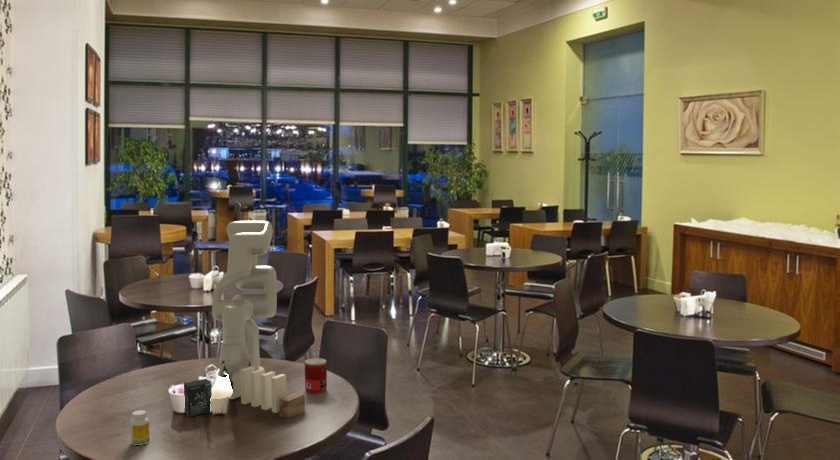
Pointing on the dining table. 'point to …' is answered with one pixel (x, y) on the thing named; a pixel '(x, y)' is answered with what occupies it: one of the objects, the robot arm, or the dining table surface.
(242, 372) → the domino
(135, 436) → the supplement bottle
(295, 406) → the end block
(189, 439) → the dining table surface
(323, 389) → the canned food
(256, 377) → the domino
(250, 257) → the robot arm
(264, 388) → the domino
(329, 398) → the dining table surface
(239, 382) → the domino
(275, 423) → the dining table surface
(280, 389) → the domino
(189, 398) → the box
